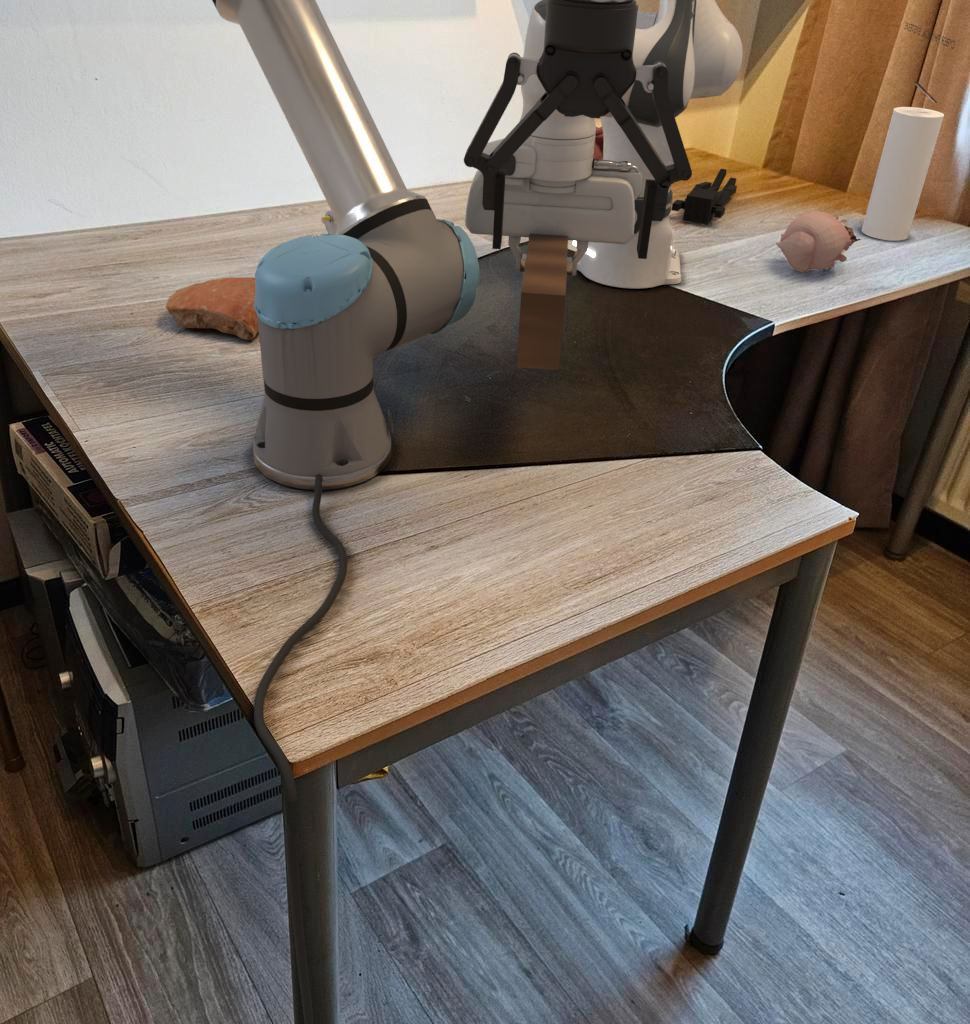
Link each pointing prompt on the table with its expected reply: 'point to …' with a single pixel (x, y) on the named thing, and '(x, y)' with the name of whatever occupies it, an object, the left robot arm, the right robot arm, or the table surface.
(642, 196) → the right robot arm
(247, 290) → the ceramic shard
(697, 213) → the toy
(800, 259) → the toy
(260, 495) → the table surface
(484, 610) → the table surface
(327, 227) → the electric motor
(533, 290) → the bar
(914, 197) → the tall white tube
